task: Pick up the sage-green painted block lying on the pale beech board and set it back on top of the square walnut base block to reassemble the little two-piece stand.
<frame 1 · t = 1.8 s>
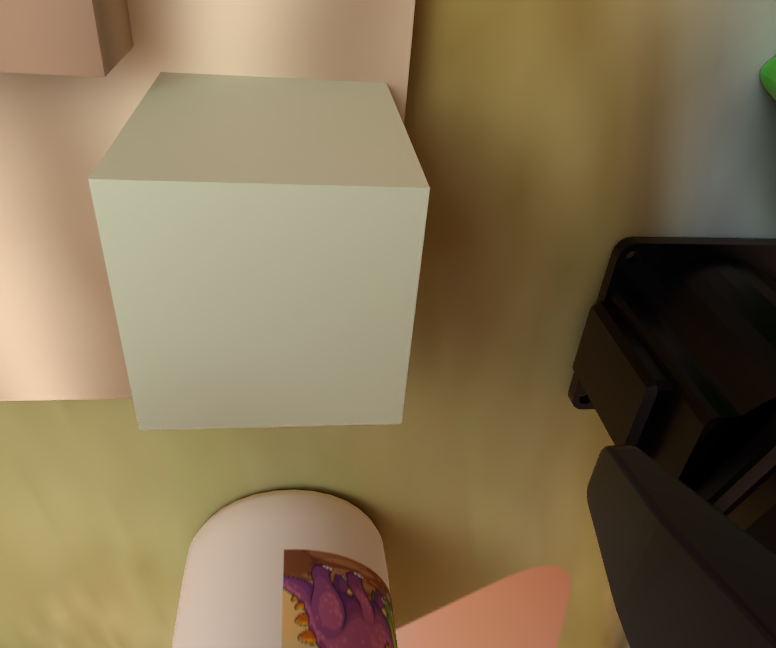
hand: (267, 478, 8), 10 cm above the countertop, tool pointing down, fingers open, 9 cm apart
milk bottle: (288, 542, 26), on the countertop
top block: (278, 182, 16), point 1 cm above the countertop, touching board
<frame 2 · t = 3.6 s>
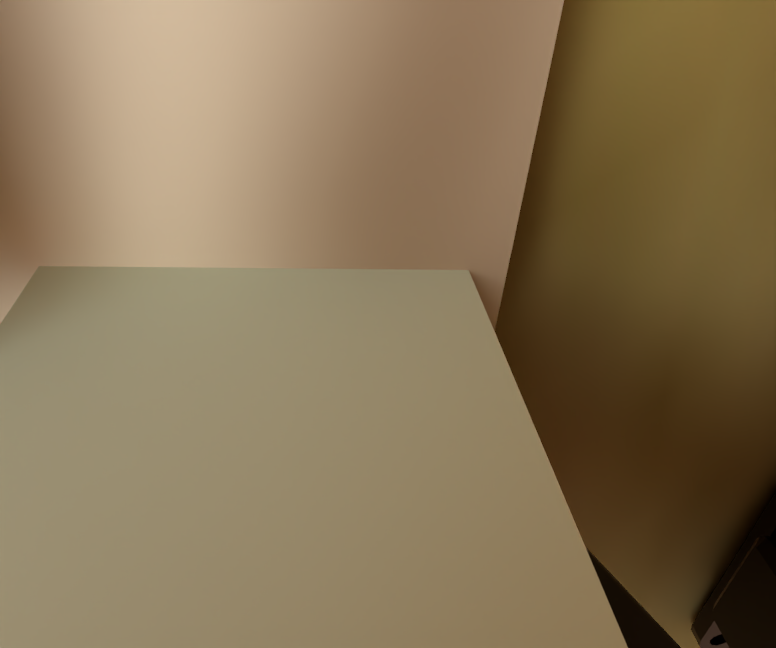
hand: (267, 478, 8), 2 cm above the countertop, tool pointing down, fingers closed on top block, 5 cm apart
top block: (269, 422, 9), point 1 cm above the countertop, touching board, gripper
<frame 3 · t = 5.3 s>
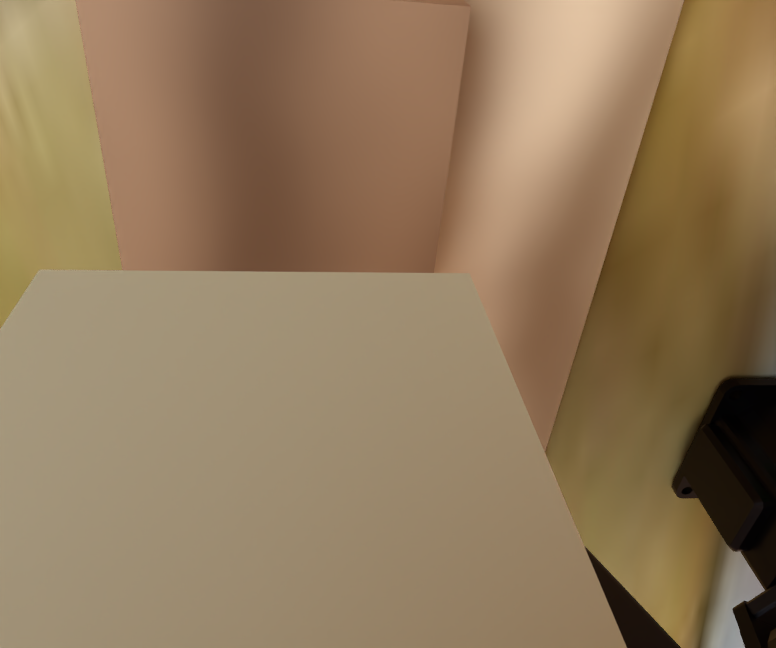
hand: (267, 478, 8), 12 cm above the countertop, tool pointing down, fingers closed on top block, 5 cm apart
board: (383, 231, 20), on the countertop
top block: (270, 425, 9), point 11 cm above the countertop, touching gripper
base block: (285, 143, 17), point 1 cm above the countertop, touching board
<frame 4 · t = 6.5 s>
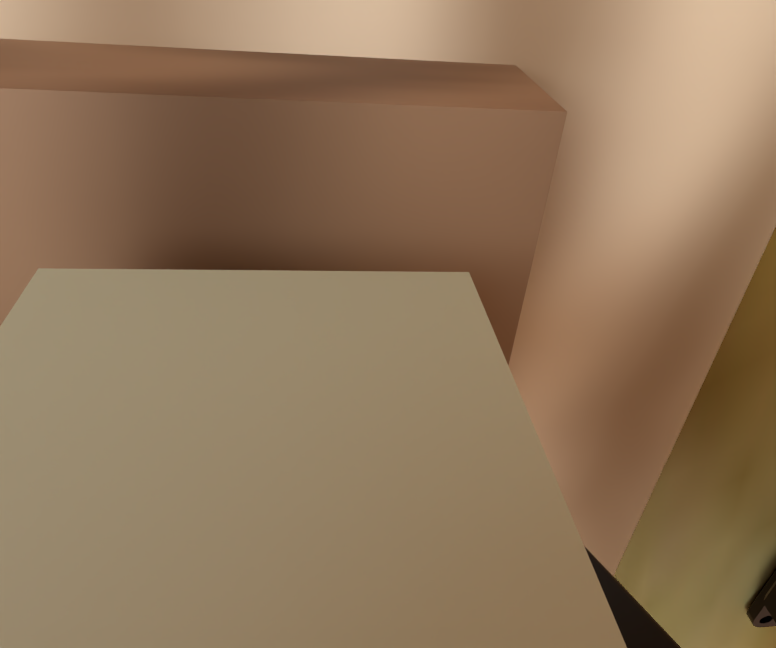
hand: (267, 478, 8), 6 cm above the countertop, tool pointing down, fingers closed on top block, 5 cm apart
board: (408, 362, 15), on the countertop
top block: (269, 424, 9), point 5 cm above the countertop, touching gripper
base block: (275, 273, 12), point 1 cm above the countertop, touching board
when the fingers open (6 cm above the countertop, at t = 7.2 s): top block drops 1 cm, resting on base block.
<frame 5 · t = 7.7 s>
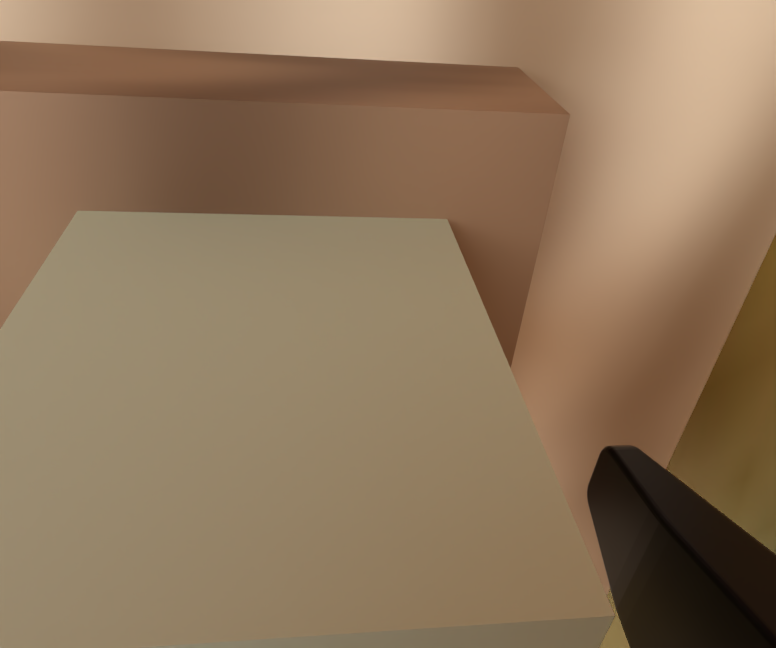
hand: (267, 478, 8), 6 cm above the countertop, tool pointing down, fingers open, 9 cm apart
board: (409, 363, 15), on the countertop
top block: (273, 358, 10), point 3 cm above the countertop, touching base block
base block: (276, 275, 12), point 1 cm above the countertop, touching board, top block
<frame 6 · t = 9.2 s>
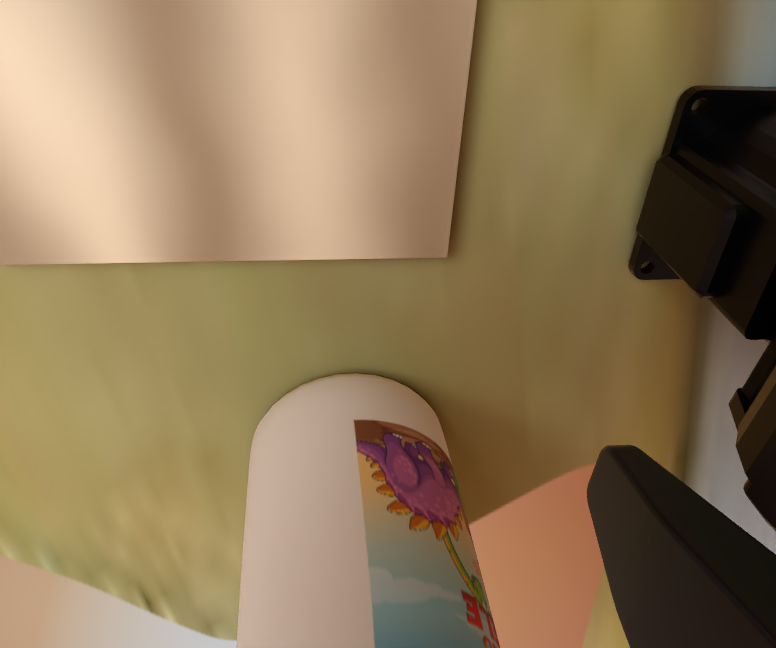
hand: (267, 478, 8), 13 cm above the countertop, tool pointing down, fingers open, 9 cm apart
milk bottle: (347, 436, 26), on the countertop
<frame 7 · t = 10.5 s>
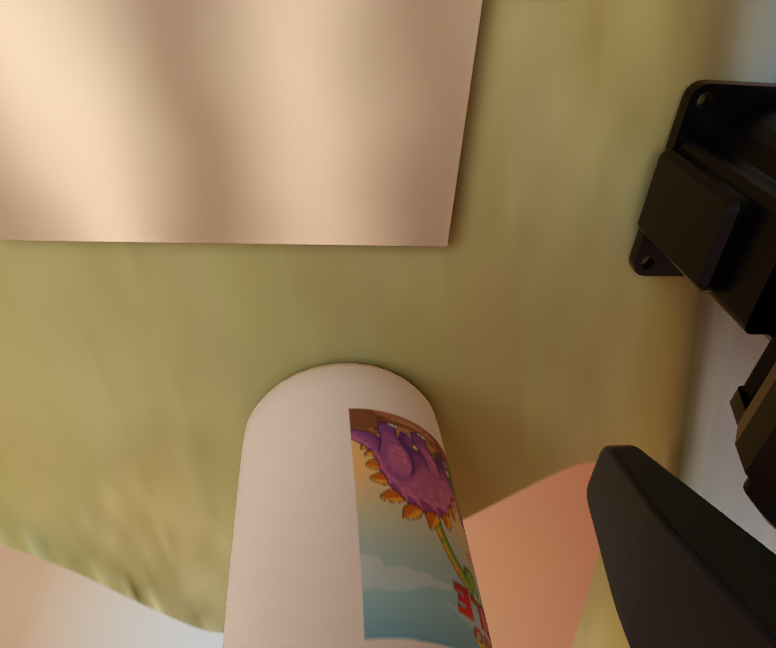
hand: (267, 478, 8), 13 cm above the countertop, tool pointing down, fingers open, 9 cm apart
milk bottle: (341, 427, 26), on the countertop
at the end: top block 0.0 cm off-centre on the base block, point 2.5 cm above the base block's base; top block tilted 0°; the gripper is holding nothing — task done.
